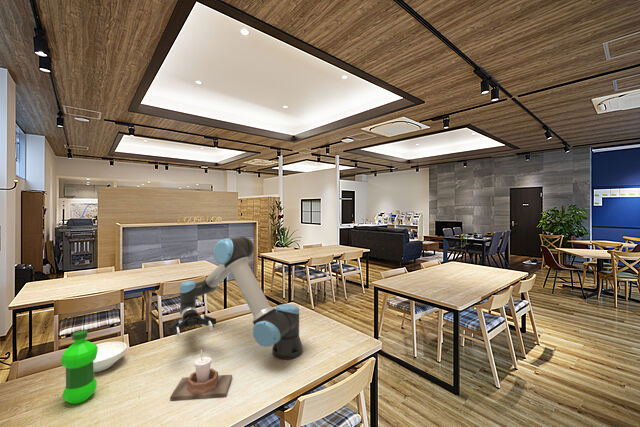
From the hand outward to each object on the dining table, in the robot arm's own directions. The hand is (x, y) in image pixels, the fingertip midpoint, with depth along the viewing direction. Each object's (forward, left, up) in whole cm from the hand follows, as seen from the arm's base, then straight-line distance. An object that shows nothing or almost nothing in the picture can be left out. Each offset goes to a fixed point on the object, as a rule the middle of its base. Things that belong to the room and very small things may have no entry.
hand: (195, 331), depth 124 cm
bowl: (+43, +5, -17) cm, 47 cm away
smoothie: (-11, +13, -15) cm, 23 cm away
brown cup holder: (-11, +13, -17) cm, 23 cm away
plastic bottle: (+31, +25, -17) cm, 43 cm away
